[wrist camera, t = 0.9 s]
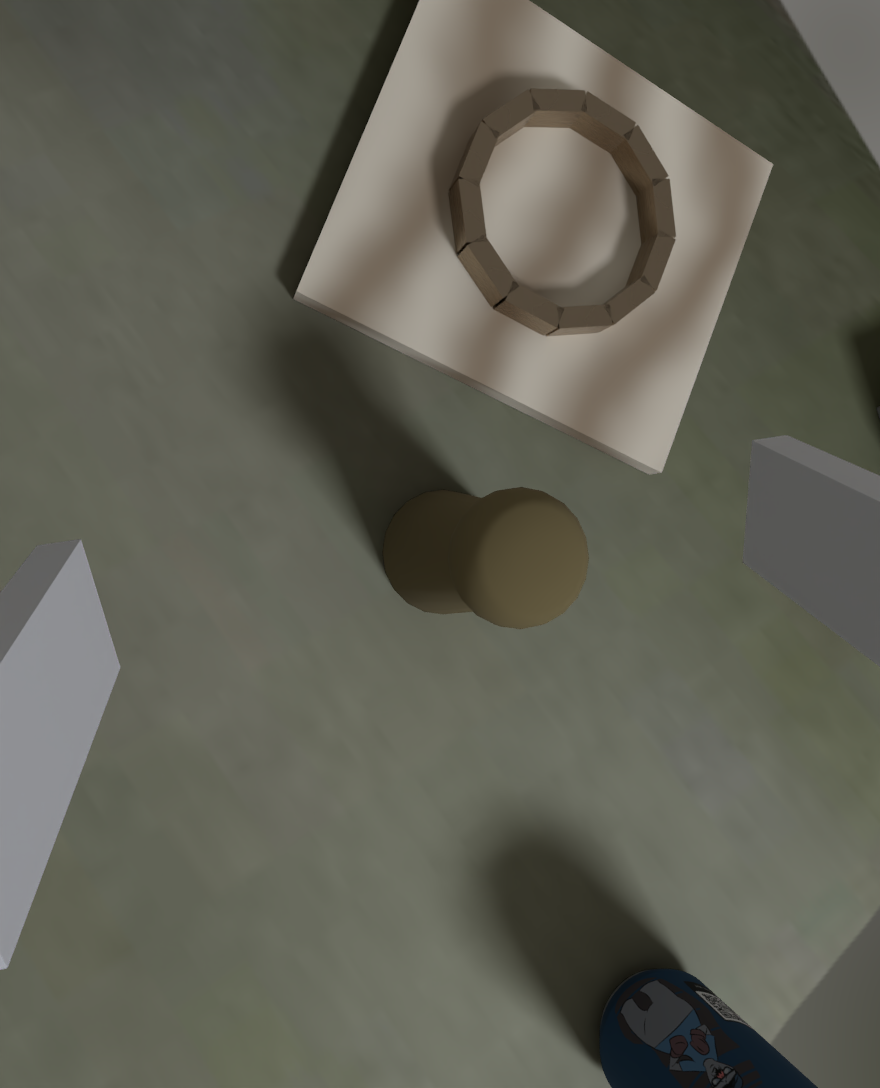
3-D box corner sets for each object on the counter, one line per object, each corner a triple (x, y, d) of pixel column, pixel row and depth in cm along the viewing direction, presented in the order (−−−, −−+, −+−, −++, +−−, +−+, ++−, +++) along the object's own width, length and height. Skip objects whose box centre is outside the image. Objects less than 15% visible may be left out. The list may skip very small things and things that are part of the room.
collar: (416, 268, 35) (425, 257, 34) (500, 62, 36) (512, 42, 35) (612, 372, 38) (628, 366, 37) (685, 179, 39) (703, 166, 38)
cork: (366, 511, 36) (433, 502, 25) (481, 474, 38) (588, 451, 27) (404, 631, 37) (485, 671, 26) (515, 590, 38) (634, 612, 28)
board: (293, 299, 35) (296, 290, 34) (436, -39, 37) (443, -57, 35) (648, 474, 40) (661, 472, 39) (757, 174, 42) (773, 164, 41)
